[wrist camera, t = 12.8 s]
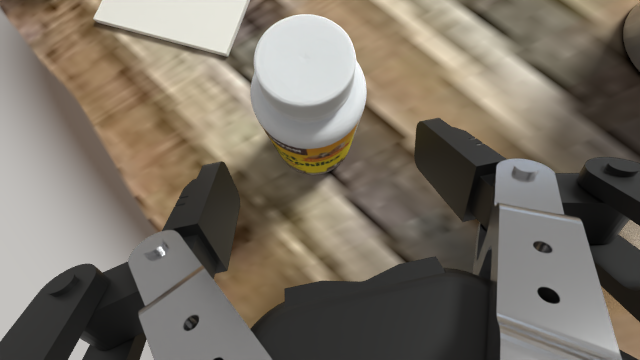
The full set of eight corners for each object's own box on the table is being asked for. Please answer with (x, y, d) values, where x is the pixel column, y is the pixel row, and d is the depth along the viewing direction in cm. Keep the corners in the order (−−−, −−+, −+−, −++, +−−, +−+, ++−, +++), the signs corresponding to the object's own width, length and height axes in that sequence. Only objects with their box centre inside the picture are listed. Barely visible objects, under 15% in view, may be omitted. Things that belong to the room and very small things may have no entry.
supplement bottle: (273, 172, 19) (217, 117, 9) (284, 104, 20) (244, -13, 10) (346, 181, 19) (369, 136, 9) (354, 112, 20) (384, 1, 10)
